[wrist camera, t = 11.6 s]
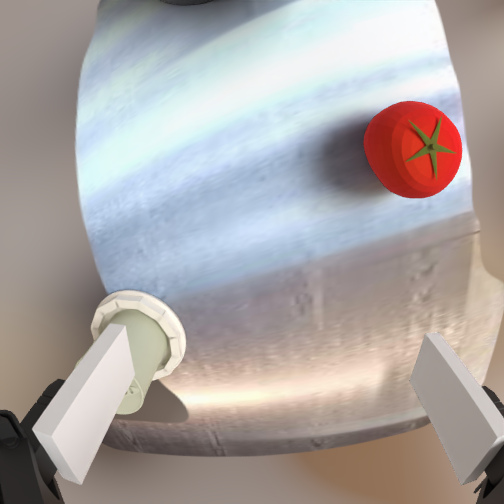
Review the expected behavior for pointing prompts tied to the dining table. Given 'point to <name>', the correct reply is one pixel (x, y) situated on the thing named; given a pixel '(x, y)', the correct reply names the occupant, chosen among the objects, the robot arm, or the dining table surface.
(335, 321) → the dining table surface
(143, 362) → the can
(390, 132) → the tomato
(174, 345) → the saucer
